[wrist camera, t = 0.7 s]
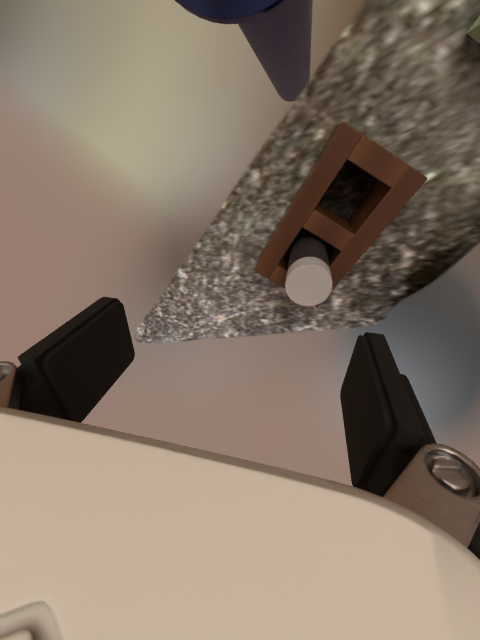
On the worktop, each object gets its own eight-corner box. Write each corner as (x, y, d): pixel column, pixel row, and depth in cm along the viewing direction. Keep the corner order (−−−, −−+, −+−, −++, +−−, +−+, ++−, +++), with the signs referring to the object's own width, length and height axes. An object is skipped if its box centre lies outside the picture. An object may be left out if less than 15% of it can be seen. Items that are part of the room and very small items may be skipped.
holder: (260, 253, 36) (253, 270, 31) (337, 125, 27) (343, 121, 22) (315, 285, 37) (317, 307, 32) (407, 172, 28) (428, 178, 23)
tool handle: (285, 247, 35) (276, 292, 24) (303, 219, 33) (302, 255, 22) (311, 262, 35) (313, 313, 25) (331, 236, 33) (342, 280, 22)
